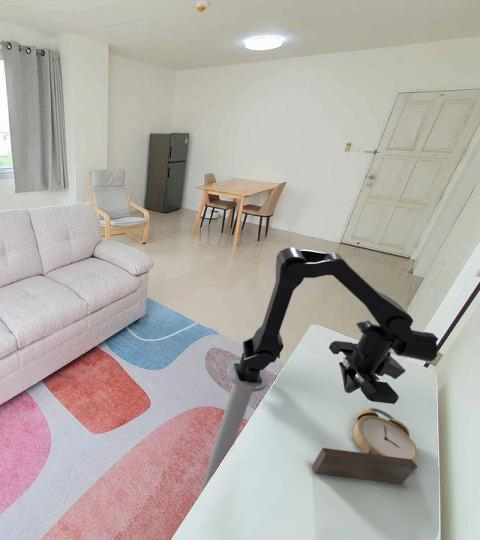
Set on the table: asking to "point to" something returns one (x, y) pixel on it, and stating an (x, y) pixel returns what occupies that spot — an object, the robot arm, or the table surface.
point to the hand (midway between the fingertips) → (347, 391)
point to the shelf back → (363, 466)
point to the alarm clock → (383, 435)
